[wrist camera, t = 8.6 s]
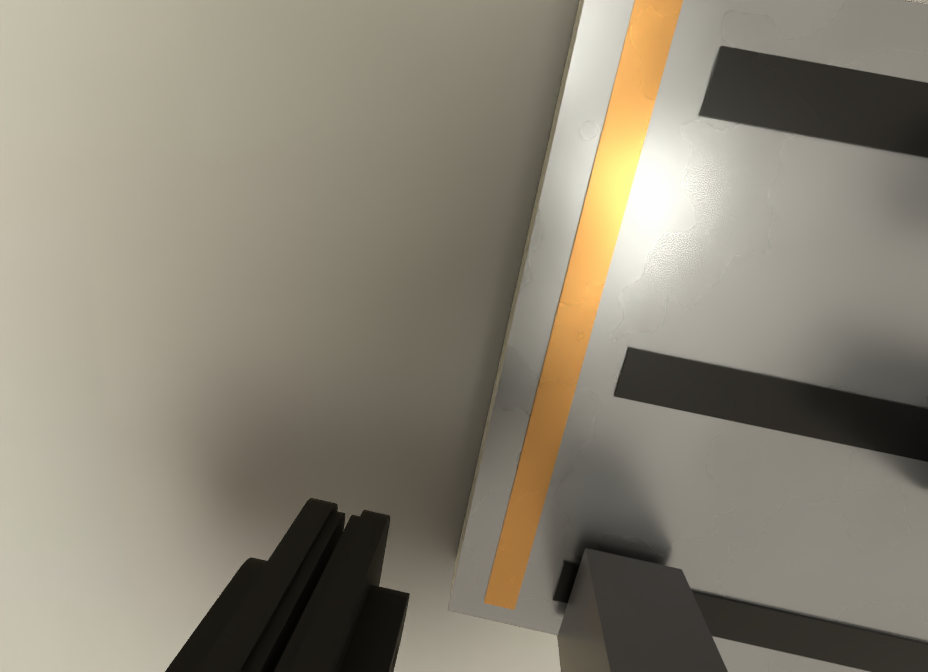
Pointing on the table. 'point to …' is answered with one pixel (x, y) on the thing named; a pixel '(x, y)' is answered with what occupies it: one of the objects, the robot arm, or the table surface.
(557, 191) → the panel
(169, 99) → the table surface
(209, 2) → the table surface
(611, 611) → the breaker
